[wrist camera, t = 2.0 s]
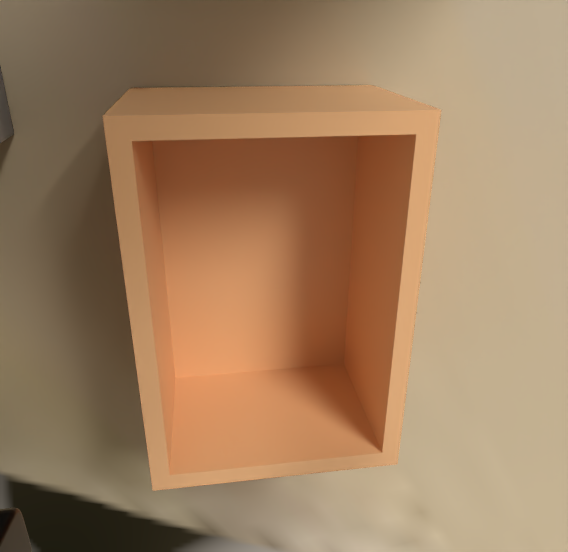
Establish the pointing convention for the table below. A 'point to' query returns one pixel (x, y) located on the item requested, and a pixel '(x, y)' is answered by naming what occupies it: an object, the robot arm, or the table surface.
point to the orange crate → (270, 272)
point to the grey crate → (4, 114)
